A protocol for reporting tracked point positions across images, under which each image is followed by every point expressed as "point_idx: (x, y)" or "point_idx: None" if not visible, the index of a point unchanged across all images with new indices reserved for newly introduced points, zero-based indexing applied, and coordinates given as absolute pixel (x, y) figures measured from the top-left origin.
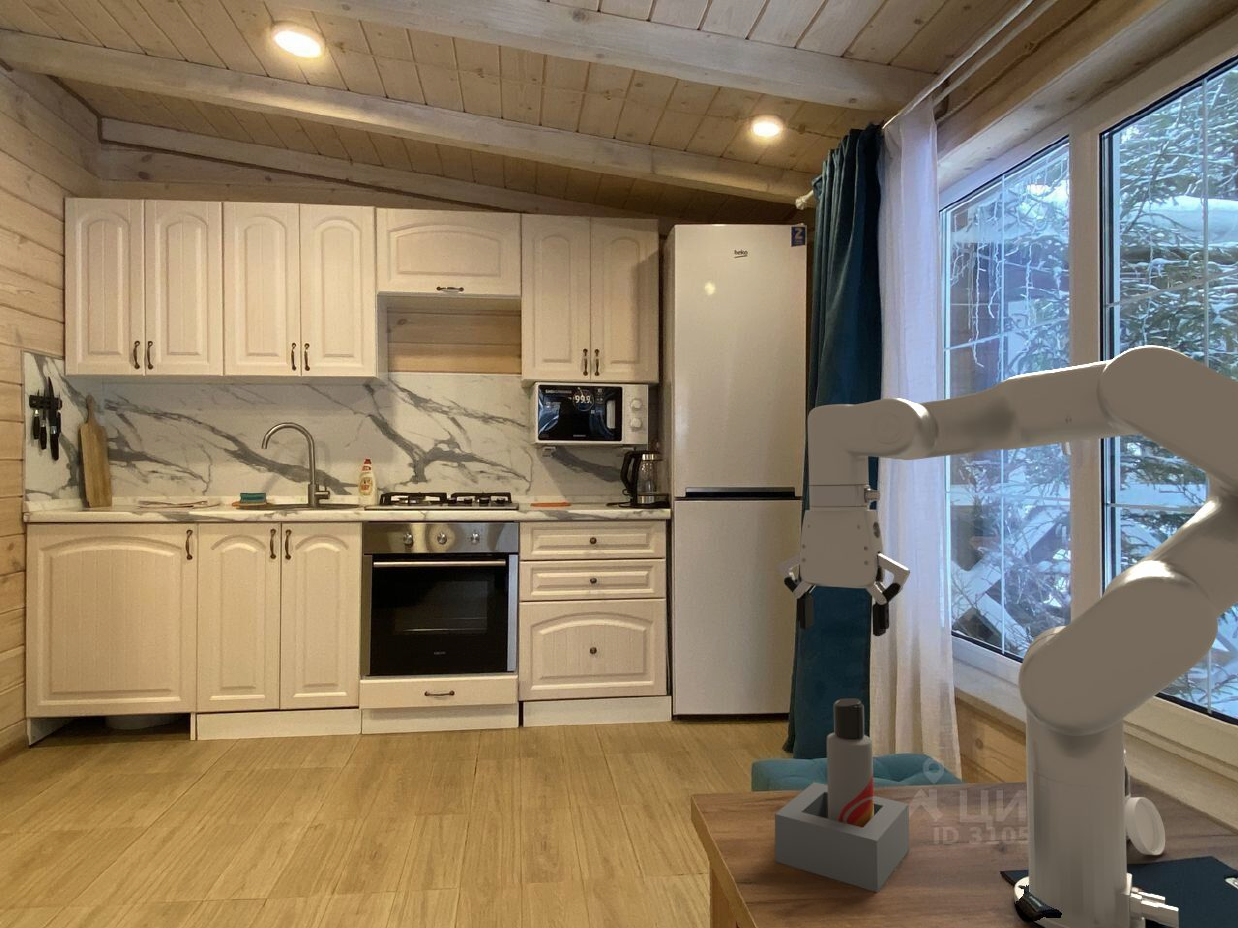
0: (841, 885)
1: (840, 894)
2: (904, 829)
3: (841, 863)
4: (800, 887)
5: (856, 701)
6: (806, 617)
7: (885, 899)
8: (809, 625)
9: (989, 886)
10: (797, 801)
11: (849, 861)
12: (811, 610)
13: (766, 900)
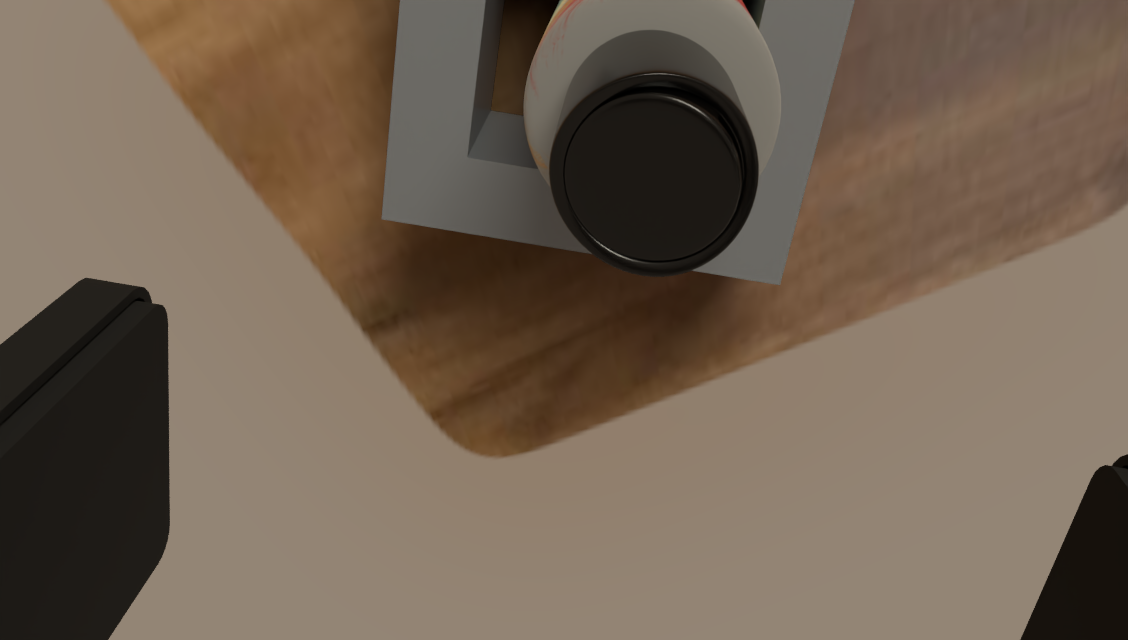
0: None
1: (655, 277)
2: None
3: None
4: (536, 287)
5: (710, 182)
6: (108, 603)
7: None
8: (161, 450)
9: (1123, 22)
10: (421, 59)
11: None
12: (63, 493)
13: (470, 389)
